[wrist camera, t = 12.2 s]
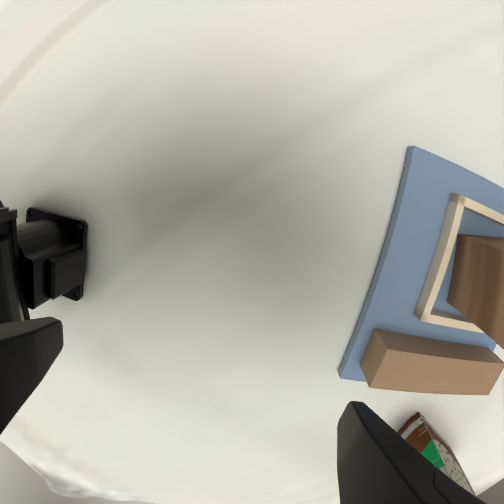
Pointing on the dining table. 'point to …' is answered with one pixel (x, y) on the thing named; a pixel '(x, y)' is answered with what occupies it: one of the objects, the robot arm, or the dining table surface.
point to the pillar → (479, 283)
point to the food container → (434, 449)
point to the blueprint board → (427, 287)
